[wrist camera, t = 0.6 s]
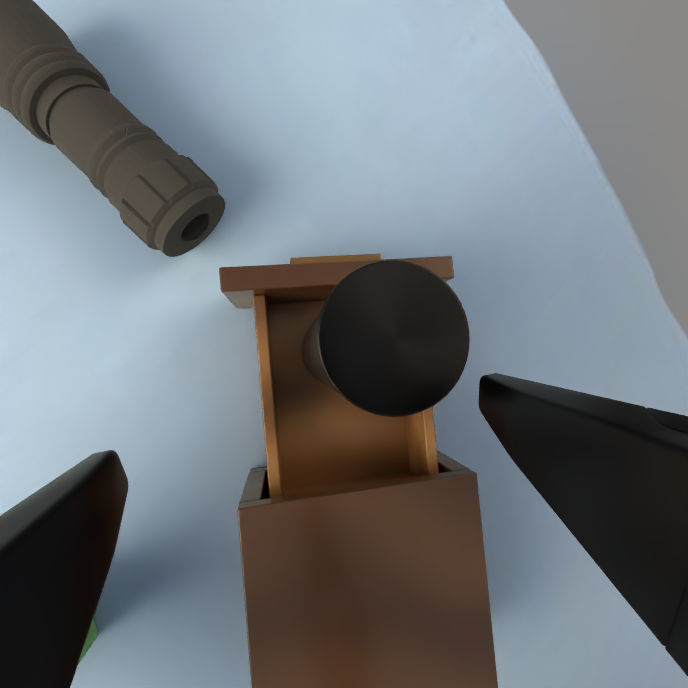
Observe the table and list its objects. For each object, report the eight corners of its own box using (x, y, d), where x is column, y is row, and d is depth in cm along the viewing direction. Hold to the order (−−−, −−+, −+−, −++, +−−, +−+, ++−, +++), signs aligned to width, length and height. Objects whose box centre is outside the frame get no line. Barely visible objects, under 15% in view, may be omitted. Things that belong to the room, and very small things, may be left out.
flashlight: (239, 216, 24) (227, 176, 19) (178, 274, 23) (147, 249, 18) (55, 37, 23) (-14, -61, 18) (-16, 92, 22) (-112, 7, 17)
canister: (375, 383, 24) (478, 408, 11) (303, 390, 23) (324, 426, 10) (369, 311, 24) (462, 255, 11) (296, 316, 23) (310, 263, 10)
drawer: (433, 471, 25) (477, 503, 19) (251, 497, 23) (240, 542, 17) (413, 269, 25) (451, 242, 20) (234, 279, 24) (217, 252, 18)
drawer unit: (447, 637, 25) (503, 732, 19) (267, 677, 23) (260, 798, 17) (428, 444, 26) (477, 472, 19) (250, 468, 24) (237, 508, 17)
